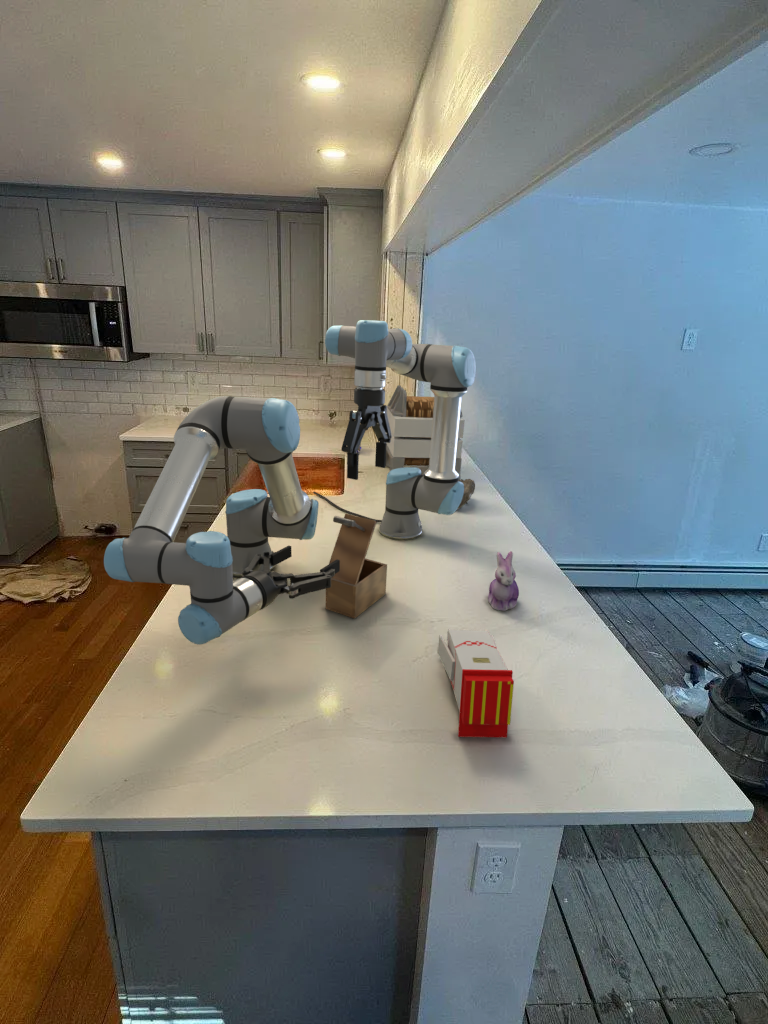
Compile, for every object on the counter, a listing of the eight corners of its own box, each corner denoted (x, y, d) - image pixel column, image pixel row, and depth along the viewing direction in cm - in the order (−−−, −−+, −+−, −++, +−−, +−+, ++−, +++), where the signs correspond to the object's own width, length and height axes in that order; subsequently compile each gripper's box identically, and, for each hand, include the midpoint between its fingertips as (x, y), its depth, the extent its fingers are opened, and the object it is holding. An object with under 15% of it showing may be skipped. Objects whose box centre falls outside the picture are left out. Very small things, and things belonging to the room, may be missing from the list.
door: (346, 514, 148) (331, 505, 141) (376, 521, 144) (362, 512, 136) (326, 576, 146) (309, 570, 138) (356, 585, 141) (340, 579, 134)
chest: (358, 585, 162) (358, 556, 159) (385, 593, 158) (387, 564, 155) (325, 608, 148) (325, 577, 145) (354, 618, 144) (355, 587, 141)
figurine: (500, 615, 149) (507, 563, 144) (477, 598, 157) (483, 548, 152) (528, 608, 153) (536, 557, 148) (504, 591, 161) (510, 543, 156)
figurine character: (361, 457, 304) (361, 447, 317) (361, 444, 301) (362, 434, 314) (348, 456, 304) (349, 447, 317) (348, 443, 300) (349, 434, 314)
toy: (488, 613, 130) (523, 677, 101) (484, 667, 133) (517, 744, 104) (435, 612, 130) (455, 676, 101) (432, 666, 133) (451, 743, 103)
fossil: (439, 484, 243) (468, 465, 238) (451, 501, 246) (481, 483, 241) (438, 506, 224) (470, 486, 219) (452, 524, 226) (484, 505, 221)
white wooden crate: (382, 463, 289) (386, 382, 275) (445, 464, 293) (451, 384, 279) (390, 482, 257) (394, 392, 243) (460, 483, 261) (468, 394, 247)
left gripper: (205, 594, 120) (271, 559, 137) (300, 629, 108) (359, 586, 126) (203, 562, 117) (270, 530, 135) (300, 594, 106) (360, 555, 123)
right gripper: (355, 394, 125) (352, 487, 132) (407, 384, 145) (402, 464, 152) (327, 391, 128) (326, 481, 135) (381, 381, 148) (378, 460, 156)
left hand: (313, 557), depth 130 cm, fingers open, 13 cm apart
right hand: (366, 472), depth 144 cm, fingers open, 13 cm apart
